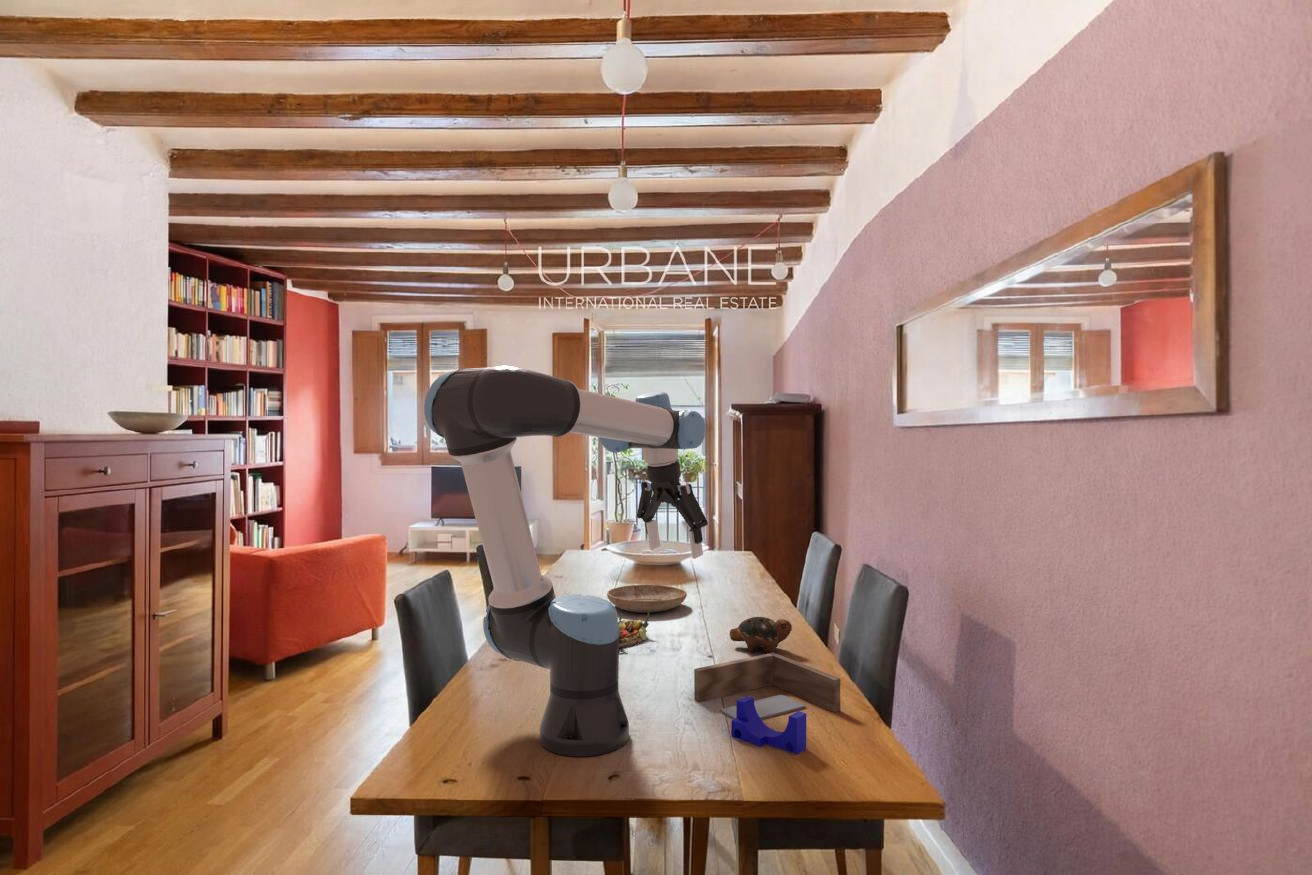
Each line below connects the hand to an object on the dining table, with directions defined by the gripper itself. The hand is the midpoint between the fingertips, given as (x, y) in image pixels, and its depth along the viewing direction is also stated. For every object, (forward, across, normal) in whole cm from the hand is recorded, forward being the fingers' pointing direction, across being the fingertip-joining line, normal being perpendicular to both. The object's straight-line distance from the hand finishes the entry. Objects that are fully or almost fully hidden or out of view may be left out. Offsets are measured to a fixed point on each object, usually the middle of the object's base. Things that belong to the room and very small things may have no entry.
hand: (676, 552), depth 168 cm
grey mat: (+21, -33, +15) cm, 42 cm away
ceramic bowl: (+33, +40, -22) cm, 57 cm away
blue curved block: (+18, -42, +25) cm, 53 cm away
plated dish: (+25, +23, +8) cm, 35 cm away
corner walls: (+21, -32, +12) cm, 40 cm away
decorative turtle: (+29, -9, -14) cm, 33 cm away
